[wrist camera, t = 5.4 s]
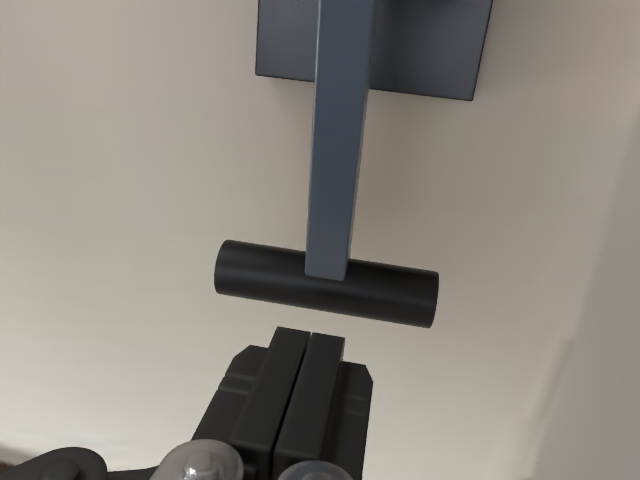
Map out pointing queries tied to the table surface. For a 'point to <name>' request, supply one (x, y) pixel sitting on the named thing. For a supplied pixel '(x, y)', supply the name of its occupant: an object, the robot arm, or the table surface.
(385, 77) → the hinge bracket
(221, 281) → the grey black t-shaped bar
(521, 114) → the table surface
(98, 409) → the table surface
